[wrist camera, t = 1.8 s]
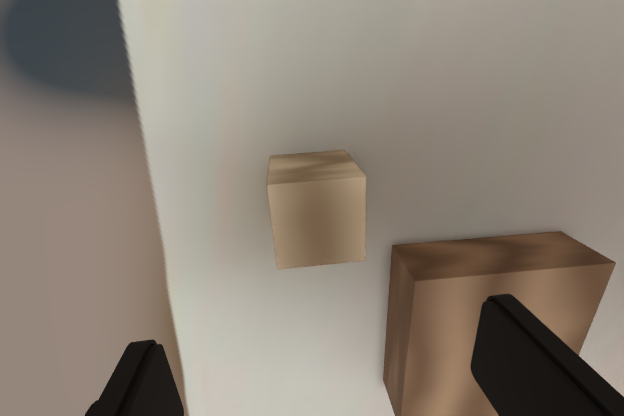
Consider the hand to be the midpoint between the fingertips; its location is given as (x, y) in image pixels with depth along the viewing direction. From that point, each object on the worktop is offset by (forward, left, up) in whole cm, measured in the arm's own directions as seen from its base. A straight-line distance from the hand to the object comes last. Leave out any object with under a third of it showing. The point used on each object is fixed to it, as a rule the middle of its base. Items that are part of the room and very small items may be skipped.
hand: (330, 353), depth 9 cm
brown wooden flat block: (-14, +13, -15) cm, 24 cm away
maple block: (-1, 0, -14) cm, 14 cm away
